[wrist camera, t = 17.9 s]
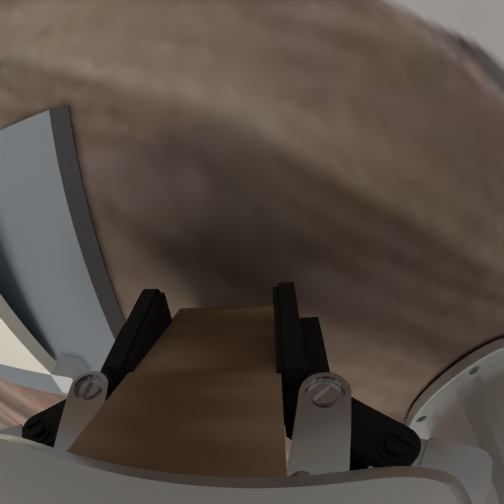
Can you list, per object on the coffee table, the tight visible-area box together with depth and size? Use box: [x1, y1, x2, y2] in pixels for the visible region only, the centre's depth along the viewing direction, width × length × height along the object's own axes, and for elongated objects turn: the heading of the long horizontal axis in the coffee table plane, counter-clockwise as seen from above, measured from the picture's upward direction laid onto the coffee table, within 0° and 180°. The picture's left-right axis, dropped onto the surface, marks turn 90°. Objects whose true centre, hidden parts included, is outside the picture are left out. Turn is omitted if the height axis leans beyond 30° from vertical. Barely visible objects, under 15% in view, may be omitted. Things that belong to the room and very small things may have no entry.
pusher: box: [67, 305, 287, 477], centre depth 8 cm, size 4×4×10 cm
